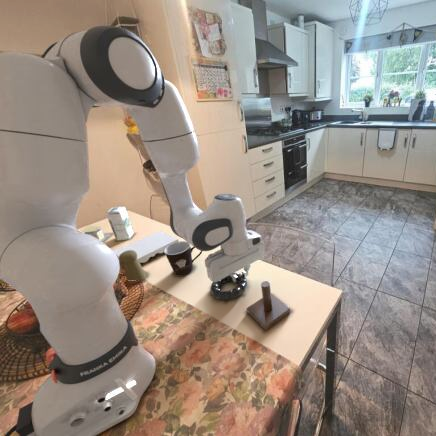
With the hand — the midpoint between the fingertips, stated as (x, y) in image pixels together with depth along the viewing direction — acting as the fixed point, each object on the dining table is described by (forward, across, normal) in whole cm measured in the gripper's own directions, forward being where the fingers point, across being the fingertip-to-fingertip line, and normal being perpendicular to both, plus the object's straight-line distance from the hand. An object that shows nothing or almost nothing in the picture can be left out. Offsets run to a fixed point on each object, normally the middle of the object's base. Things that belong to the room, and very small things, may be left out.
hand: (240, 278), depth 83 cm
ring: (0, -4, 0) cm, 5 cm away
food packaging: (+2, -18, +45) cm, 48 cm away
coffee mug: (+2, -10, +20) cm, 23 cm away
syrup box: (+2, -22, +67) cm, 70 cm away
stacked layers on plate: (+2, -32, +76) cm, 82 cm away
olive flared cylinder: (+2, -26, +29) cm, 39 cm away
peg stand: (+2, -2, -17) cm, 17 cm away
